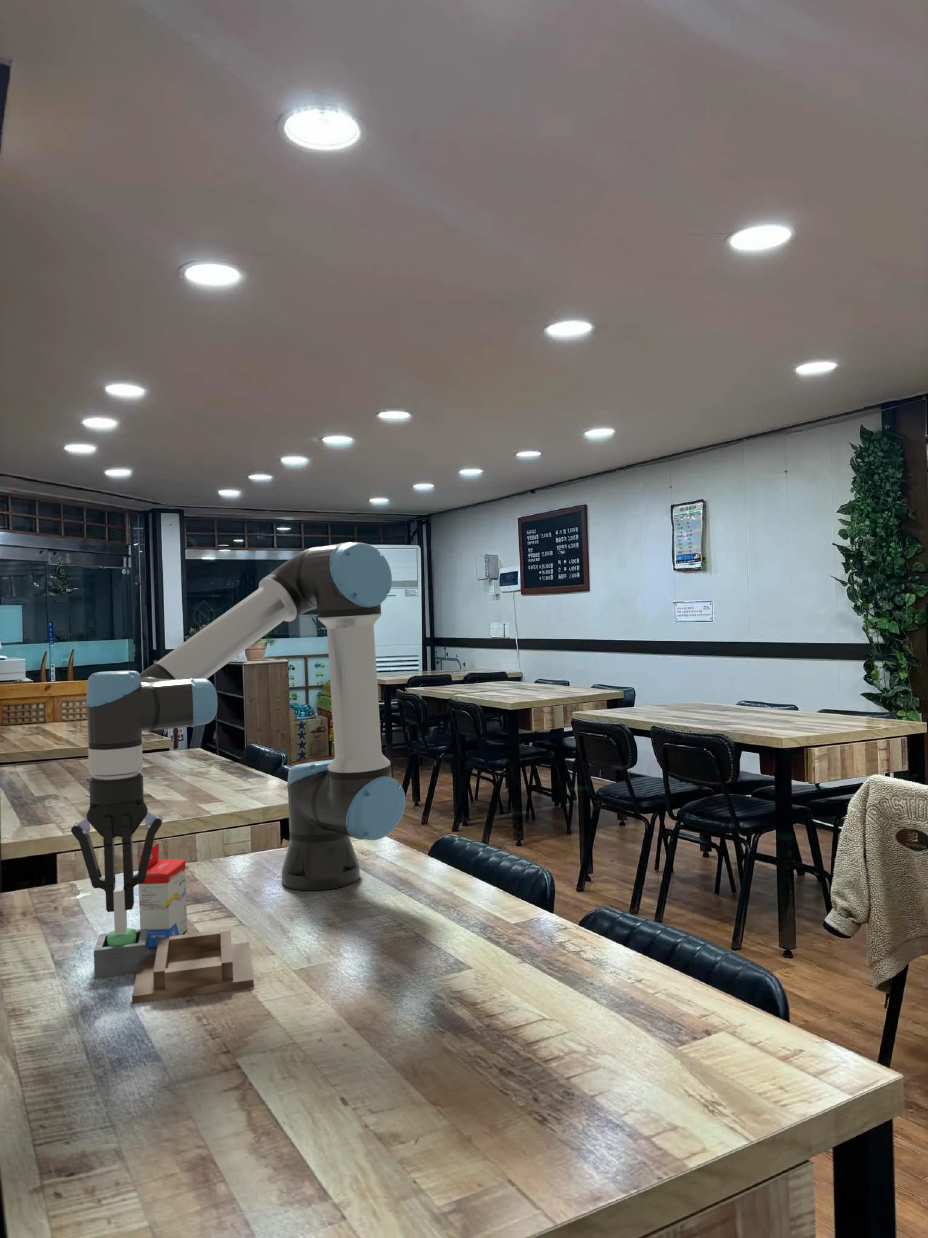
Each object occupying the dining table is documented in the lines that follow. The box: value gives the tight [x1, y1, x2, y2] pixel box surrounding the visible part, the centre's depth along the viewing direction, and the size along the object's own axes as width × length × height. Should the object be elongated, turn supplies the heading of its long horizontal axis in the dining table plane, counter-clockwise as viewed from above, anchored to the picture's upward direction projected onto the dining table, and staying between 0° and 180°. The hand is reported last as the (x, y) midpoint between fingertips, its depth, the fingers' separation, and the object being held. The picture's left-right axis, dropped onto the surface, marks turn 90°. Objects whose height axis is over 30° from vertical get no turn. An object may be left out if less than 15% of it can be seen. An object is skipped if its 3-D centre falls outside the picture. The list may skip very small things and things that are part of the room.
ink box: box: [138, 842, 188, 948], centre depth 144 cm, size 8×5×15 cm, turn 179°
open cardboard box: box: [131, 929, 255, 1005], centre depth 129 cm, size 16×15×4 cm
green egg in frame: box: [93, 928, 150, 979], centre depth 133 cm, size 7×7×4 cm
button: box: [106, 927, 137, 947], centre depth 133 cm, size 4×4×3 cm
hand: (120, 931), depth 133 cm, fingers closed
